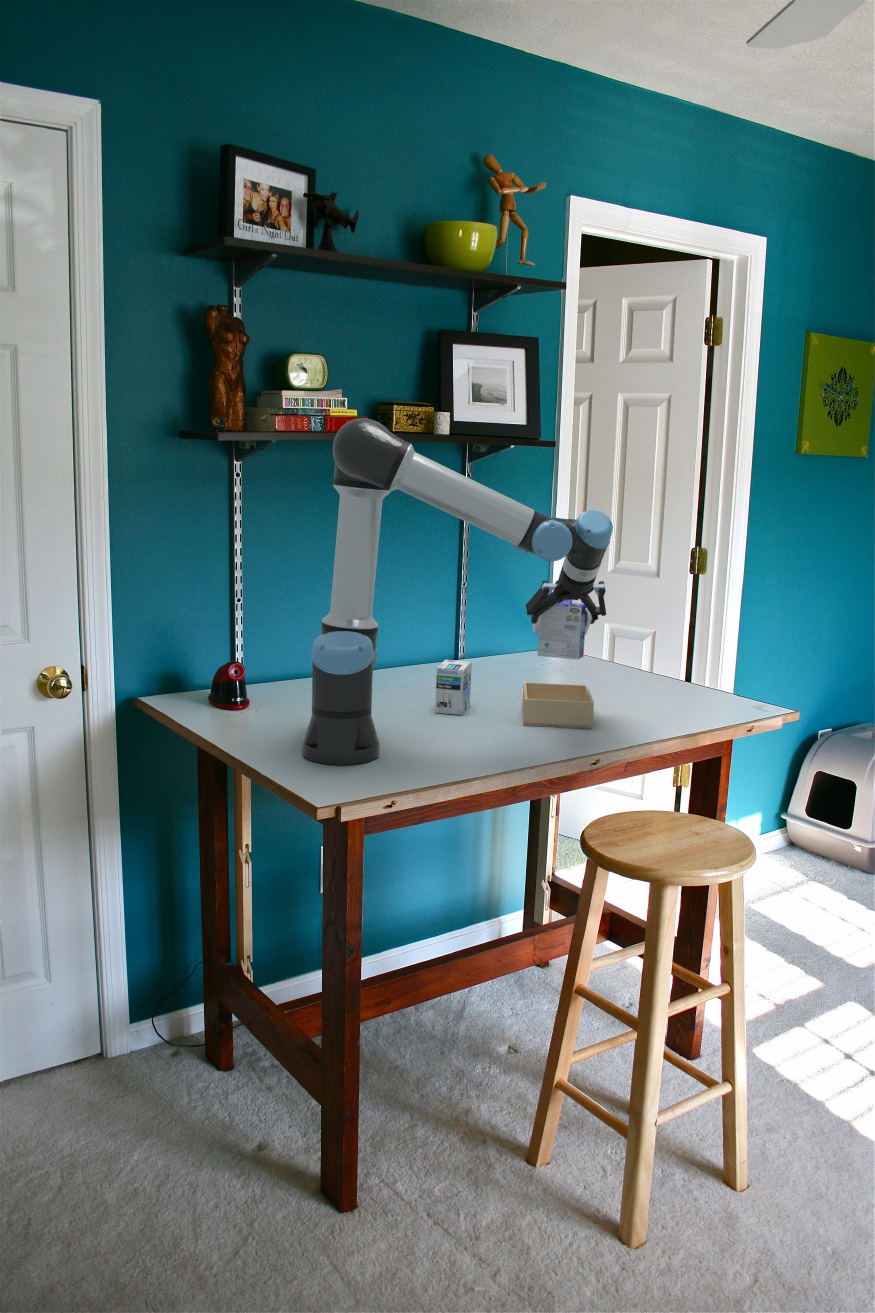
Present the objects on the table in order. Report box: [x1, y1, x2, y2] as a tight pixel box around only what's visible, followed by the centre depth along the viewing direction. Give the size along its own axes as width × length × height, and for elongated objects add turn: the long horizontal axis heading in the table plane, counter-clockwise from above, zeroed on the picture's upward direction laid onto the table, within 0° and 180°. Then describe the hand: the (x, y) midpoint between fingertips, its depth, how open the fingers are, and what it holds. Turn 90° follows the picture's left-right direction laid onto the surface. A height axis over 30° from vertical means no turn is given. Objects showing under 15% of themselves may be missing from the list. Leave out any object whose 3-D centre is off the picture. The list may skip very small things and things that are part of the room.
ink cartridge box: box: [537, 599, 587, 660], centre depth 224 cm, size 10×6×14 cm, turn 71°
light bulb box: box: [434, 659, 473, 716], centre depth 232 cm, size 11×7×11 cm, turn 168°
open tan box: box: [520, 681, 595, 730], centre depth 239 cm, size 15×39×6 cm, turn 176°
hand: (559, 629), depth 228 cm, fingers closed on ink cartridge box, 11 cm apart
